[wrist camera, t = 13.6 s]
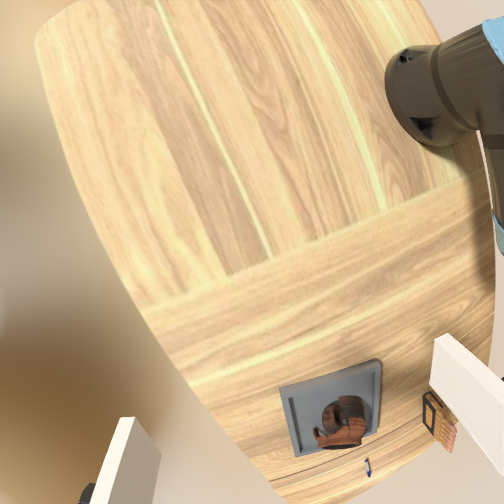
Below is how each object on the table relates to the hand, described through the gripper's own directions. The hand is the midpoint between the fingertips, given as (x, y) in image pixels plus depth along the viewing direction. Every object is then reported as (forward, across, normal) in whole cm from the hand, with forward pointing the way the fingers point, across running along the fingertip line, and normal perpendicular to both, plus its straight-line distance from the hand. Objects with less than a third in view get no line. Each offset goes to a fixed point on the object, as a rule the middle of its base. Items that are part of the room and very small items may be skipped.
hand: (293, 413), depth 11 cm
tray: (+26, +6, -31) cm, 41 cm away
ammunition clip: (+27, +27, -42) cm, 57 cm away
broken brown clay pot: (+26, +6, -30) cm, 40 cm away
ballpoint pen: (+27, +13, -58) cm, 65 cm away
